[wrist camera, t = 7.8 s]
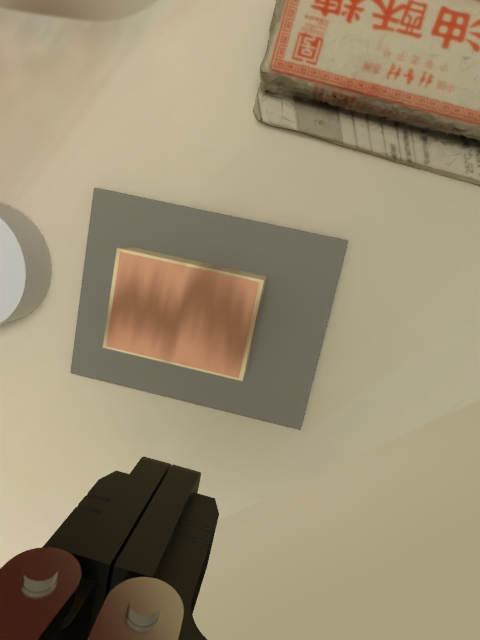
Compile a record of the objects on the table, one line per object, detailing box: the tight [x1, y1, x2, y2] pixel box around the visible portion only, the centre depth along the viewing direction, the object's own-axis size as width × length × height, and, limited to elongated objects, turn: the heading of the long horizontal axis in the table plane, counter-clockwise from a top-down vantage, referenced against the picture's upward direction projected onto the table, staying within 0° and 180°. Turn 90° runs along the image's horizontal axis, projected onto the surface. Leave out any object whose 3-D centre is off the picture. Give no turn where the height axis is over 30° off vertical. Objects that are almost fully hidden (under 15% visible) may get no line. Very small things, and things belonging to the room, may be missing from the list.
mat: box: [71, 188, 348, 430], centre depth 33 cm, size 14×18×1 cm
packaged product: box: [253, 0, 480, 185], centre depth 27 cm, size 18×5×10 cm
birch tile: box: [103, 247, 267, 381], centre depth 32 cm, size 7×3×10 cm
